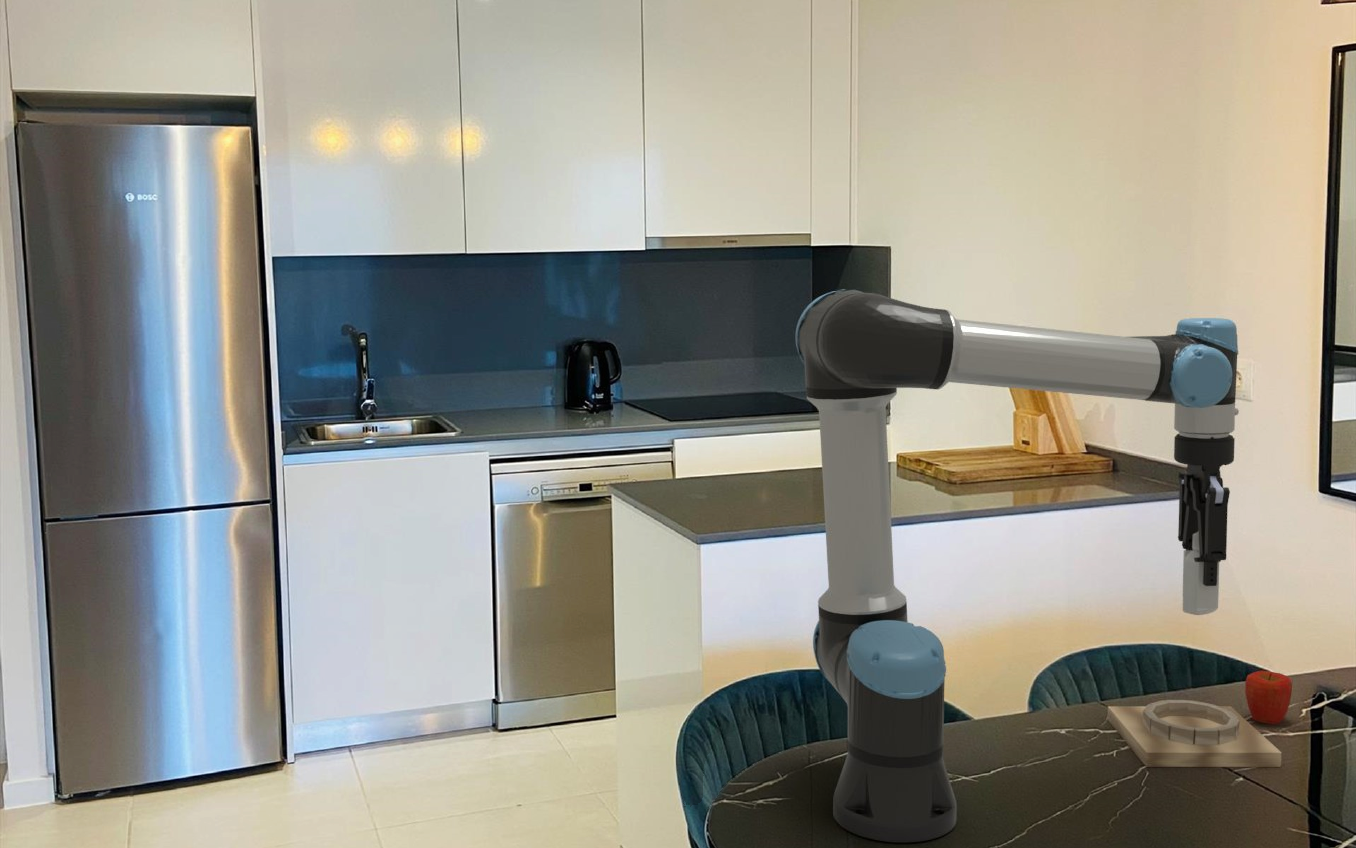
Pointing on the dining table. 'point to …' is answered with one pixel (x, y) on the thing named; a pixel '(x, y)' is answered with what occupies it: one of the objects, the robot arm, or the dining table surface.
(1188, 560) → the eye dropper bottle
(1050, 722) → the dining table surface
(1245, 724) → the socket stand
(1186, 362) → the robot arm
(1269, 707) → the apple
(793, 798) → the dining table surface
